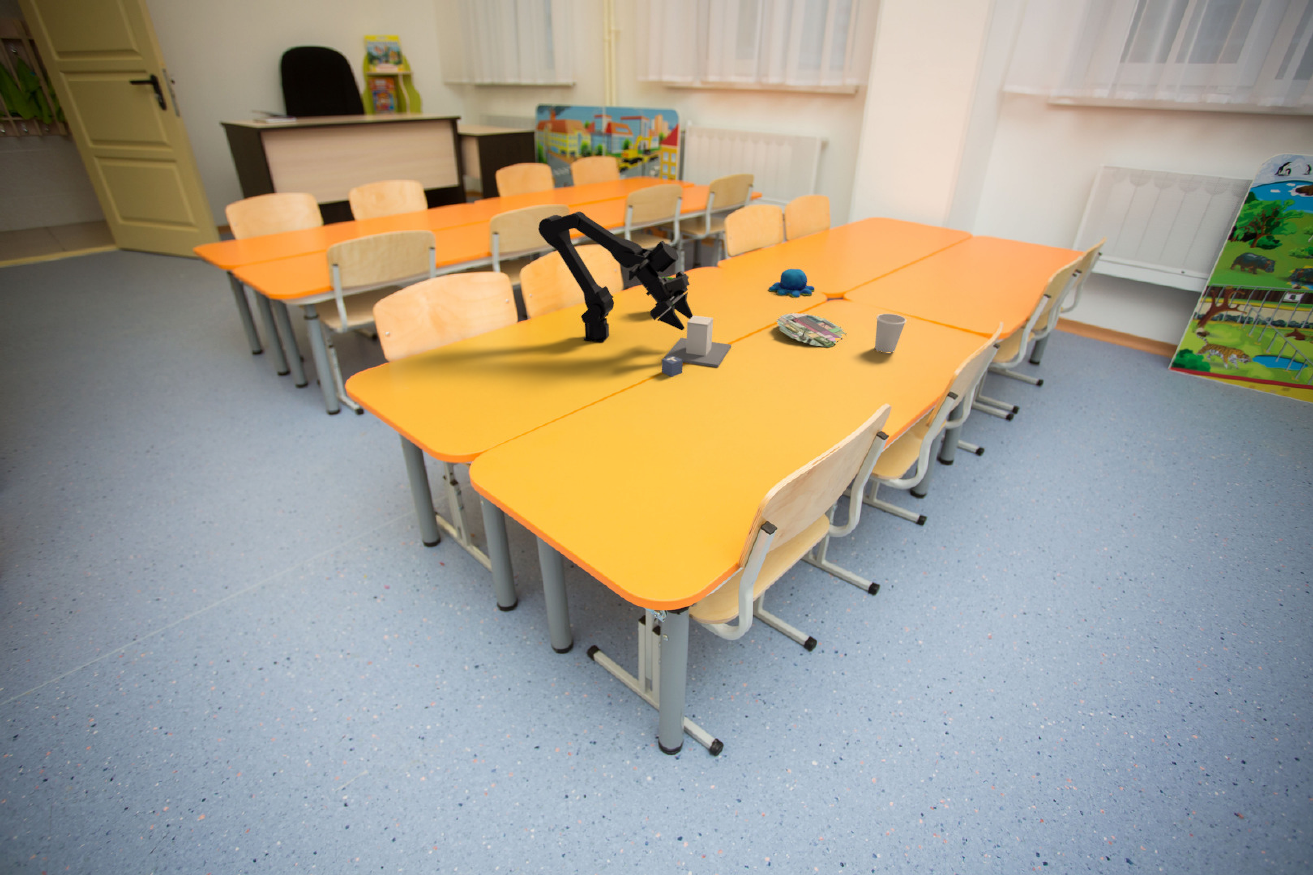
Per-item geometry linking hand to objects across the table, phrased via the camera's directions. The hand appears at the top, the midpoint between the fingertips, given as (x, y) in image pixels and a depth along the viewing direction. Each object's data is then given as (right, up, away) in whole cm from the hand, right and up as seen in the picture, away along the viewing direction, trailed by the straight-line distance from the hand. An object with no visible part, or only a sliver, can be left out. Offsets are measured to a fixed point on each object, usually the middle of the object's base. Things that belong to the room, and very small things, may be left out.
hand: (688, 324), depth 176 cm
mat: (+3, -8, +3) cm, 9 cm away
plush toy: (+43, +23, +58) cm, 76 cm away
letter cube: (-5, -15, -9) cm, 18 cm away
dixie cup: (+60, -7, +7) cm, 61 cm away
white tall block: (+3, -7, +3) cm, 9 cm away
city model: (+40, -1, +18) cm, 44 cm away
